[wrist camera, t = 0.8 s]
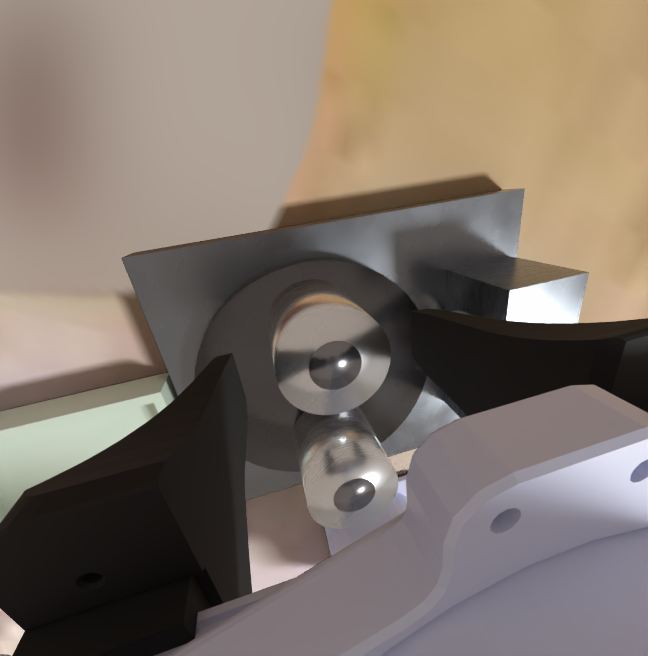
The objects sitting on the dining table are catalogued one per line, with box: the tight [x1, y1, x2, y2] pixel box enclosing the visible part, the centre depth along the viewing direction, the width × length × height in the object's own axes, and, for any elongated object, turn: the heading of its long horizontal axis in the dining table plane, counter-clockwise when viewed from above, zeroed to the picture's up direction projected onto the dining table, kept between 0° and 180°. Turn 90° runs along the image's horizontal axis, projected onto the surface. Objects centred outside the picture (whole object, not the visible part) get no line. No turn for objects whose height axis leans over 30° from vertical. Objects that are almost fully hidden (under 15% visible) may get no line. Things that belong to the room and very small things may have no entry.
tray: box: [0, 373, 178, 523], centre depth 17 cm, size 11×11×2 cm
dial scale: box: [122, 189, 589, 500], centre depth 16 cm, size 16×20×6 cm
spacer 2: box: [293, 406, 398, 529], centre depth 16 cm, size 4×4×5 cm
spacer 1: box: [267, 279, 391, 415], centre depth 13 cm, size 4×4×5 cm
